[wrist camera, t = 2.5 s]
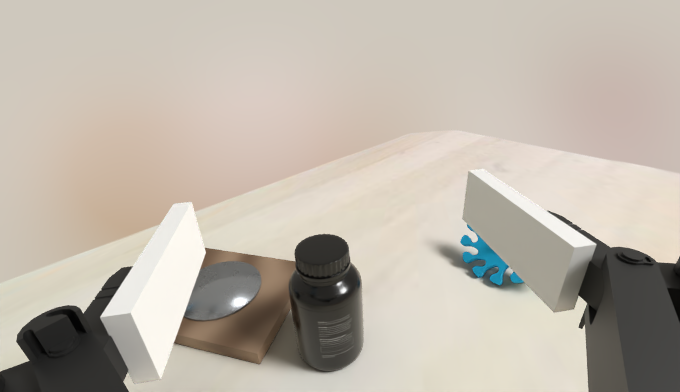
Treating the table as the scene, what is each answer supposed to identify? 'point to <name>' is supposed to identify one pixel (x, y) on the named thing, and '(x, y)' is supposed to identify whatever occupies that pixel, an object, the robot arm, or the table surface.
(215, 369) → the table surface
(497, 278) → the gear
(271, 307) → the walnut board
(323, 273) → the supplement bottle
